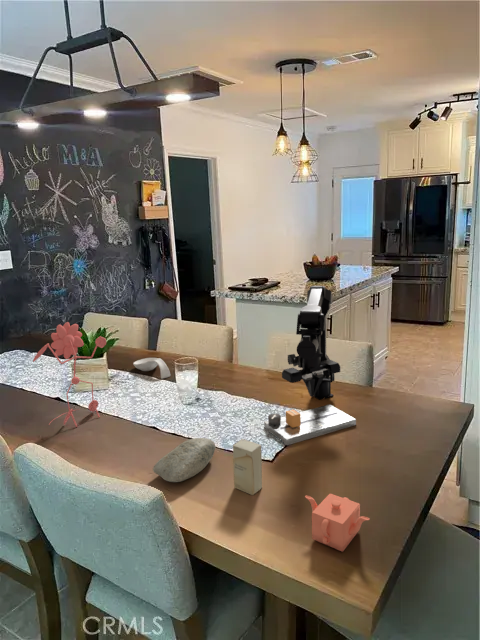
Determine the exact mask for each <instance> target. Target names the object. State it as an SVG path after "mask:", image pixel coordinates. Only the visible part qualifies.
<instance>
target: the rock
mask: <svg viewBox="0 0 480 640" xmlns="http://www.w3.org/2000/svg"><path fill="white" fill-rule="evenodd" d="M216 448H217V447H216V443H215V442H214V441H213V440H212V439H210V438H206V437H197V438H195V437H194V438H189V439H187V440H185V441H183V442H181V443H179V445H177V446H176V447H174V449H172V450H171V451H169V452H168V453H167V454H165V455H164V456H162V457H161V458H160V459H159V460H158V461H157V462H155V464H154V465H153V466H152V467H153V468H152V471H153V473H155V474H156V475H159V477H161V478H162V479H163V480H164V481H166V482H170V483H180V482H183V481H186V480H188V479H190V478H193V477H195V476H196V475H197V474H199V473H200V472H202V471H203V470H204V469H205V468H206V467H207V465H208V464H209V463H210V461H211V460H212V458H213V456H214V454H215V451H216Z"/></svg>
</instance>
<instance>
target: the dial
mask: <svg viewBox="0 0 480 640" xmlns="http://www.w3.org/2000/svg"><path fill="white" fill-rule="evenodd" d="M281 417H282V416H281V414H279V413H270V414H269V415H268V418H267V421H268V422H269V424H272V425H277V424H280V423H281Z"/></svg>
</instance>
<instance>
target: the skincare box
mask: <svg viewBox="0 0 480 640" xmlns="http://www.w3.org/2000/svg"><path fill="white" fill-rule="evenodd" d="M232 457H233V458H232V460H233V463H232V464H233V486H234V489H237V490H239V491H241V492H244V493H246V494H249V495H251V496H254V495H255V494H257V492H259V491H260V490H261V489H262V488H263V474H262V473H263V472H262V471H263V468H262V466H263V464H262V461H263V460H262V444H260V443H257V442H254V441H251V440H248V439H245V438H241V439H240V440H238V441H237V442H235V443H234V444H233V445H232Z"/></svg>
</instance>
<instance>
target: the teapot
mask: <svg viewBox="0 0 480 640" xmlns="http://www.w3.org/2000/svg"><path fill="white" fill-rule="evenodd" d="M304 498H306V499H307V500H308V501H309V503H310V505H311V510H312V512H311V539H312V540H314V541H316V542H318V543H321V544H323V545H325V546H328V547H331V548H333V549H335V550H337V551H340V552H344V551H345V550H346V549H347V547H348V546H349V544H350V543H351V542H352V541H353V540H354V538H355V536H356V535H357V534H358V532H360V529H361V527H362V524H363V523H364V522H366V521H370V517H368V516H364V515H362V516H361V515H360V514H361V503H359V502H356V501H353V500H351V499H349V497H345V496H344V497H342V496H338V495H335V494H333V493H329V494H328V495H326V497H325V498H324V499H323V500H322V501H321V502H320V503H319V504H317V502H316V500H315V499H314V498H313V497H312V496H310V495H305V496H304Z"/></svg>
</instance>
